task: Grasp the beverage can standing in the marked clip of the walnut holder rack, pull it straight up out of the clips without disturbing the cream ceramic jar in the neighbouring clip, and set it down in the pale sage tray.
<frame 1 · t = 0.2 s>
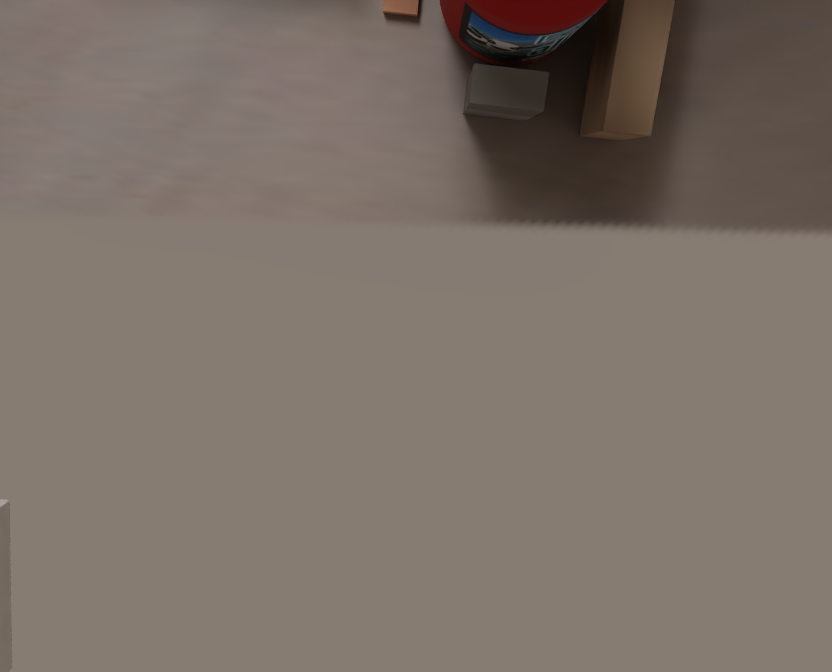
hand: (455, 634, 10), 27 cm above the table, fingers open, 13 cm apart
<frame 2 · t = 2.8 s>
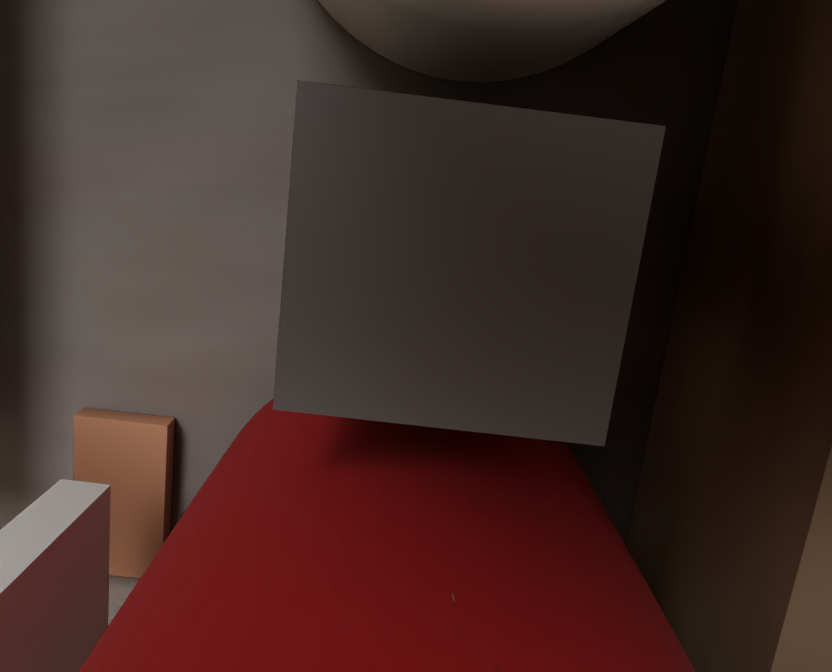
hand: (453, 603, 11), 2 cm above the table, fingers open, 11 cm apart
beverage can: (401, 513, 13), on the table
holder rack: (438, 219, 12), on the table
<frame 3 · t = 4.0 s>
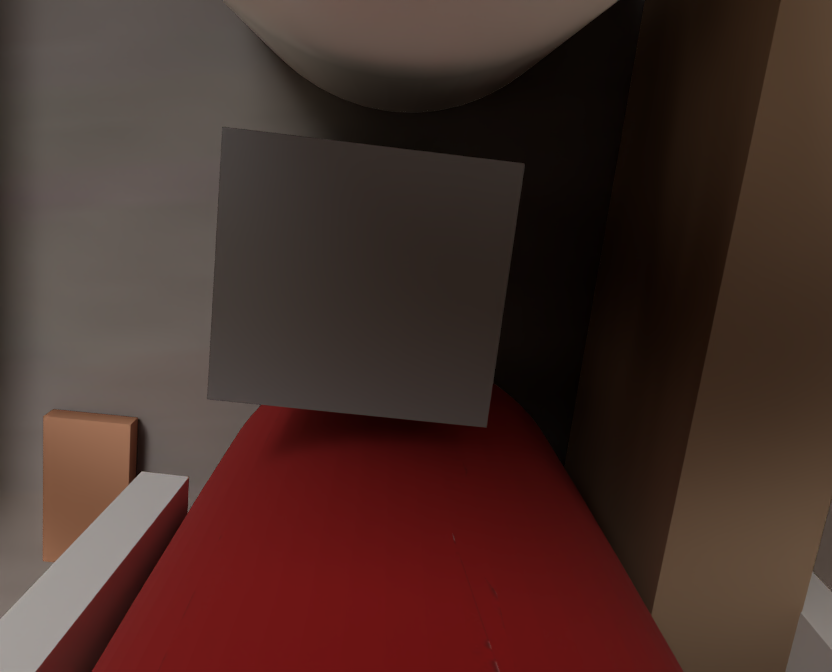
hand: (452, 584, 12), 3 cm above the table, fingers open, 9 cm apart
beverage can: (391, 499, 15), on the table, touching holder rack
holder rack: (376, 235, 13), on the table
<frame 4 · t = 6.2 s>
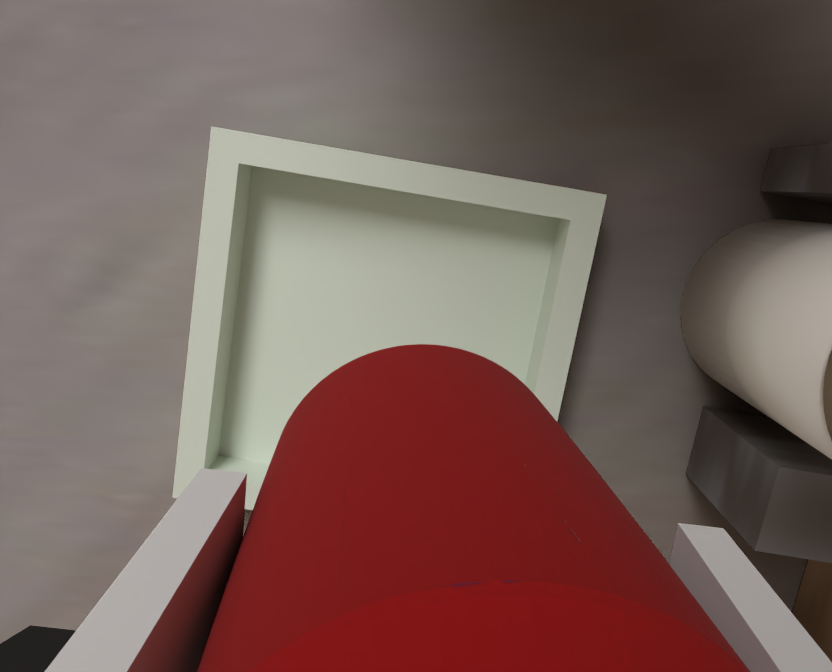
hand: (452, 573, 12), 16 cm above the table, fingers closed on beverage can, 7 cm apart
beverage can: (416, 469, 17), point 10 cm above the table, touching gripper
ceramic jar: (769, 308, 27), on the table
holder rack: (732, 447, 28), on the table
tray: (383, 337, 27), on the table
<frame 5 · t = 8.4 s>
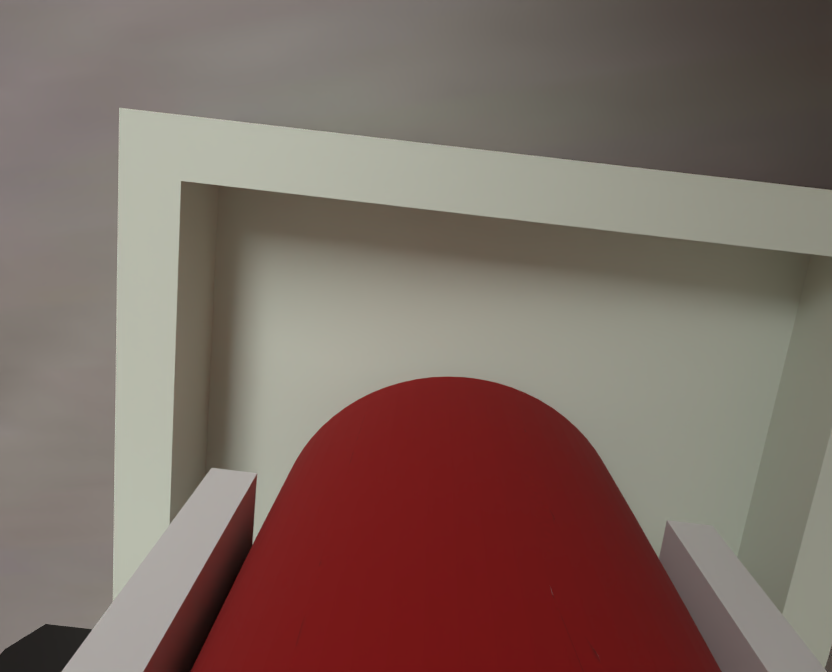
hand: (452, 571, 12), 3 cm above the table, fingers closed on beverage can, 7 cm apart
beverage can: (447, 515, 15), resting on tray, touching gripper
tray: (474, 475, 15), on the table
when the fingers open (3 cm above the table, at t = 8.9 s): beverage can stays where it is, resting on tray.
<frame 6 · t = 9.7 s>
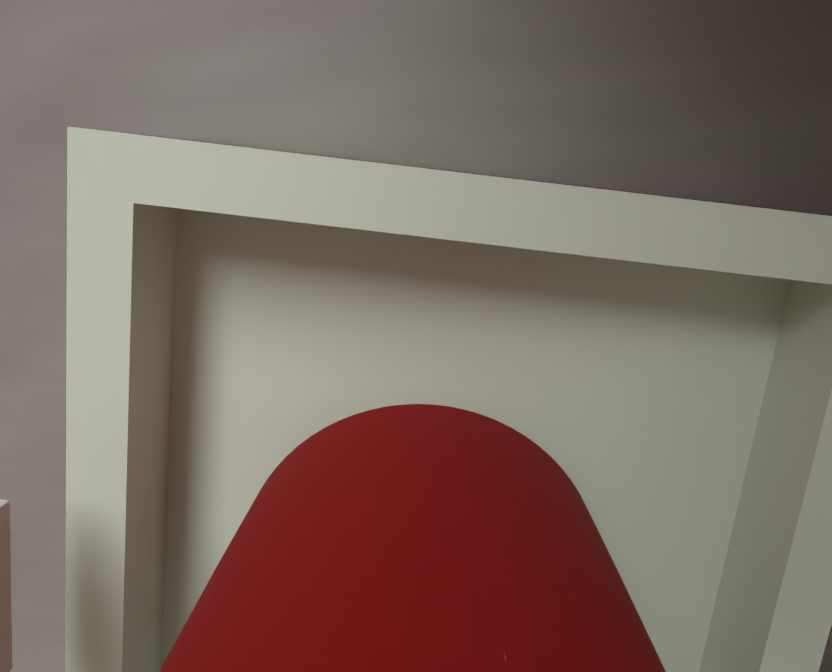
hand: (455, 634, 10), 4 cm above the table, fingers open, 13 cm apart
beverage can: (419, 546, 14), resting on tray
tray: (447, 504, 15), on the table
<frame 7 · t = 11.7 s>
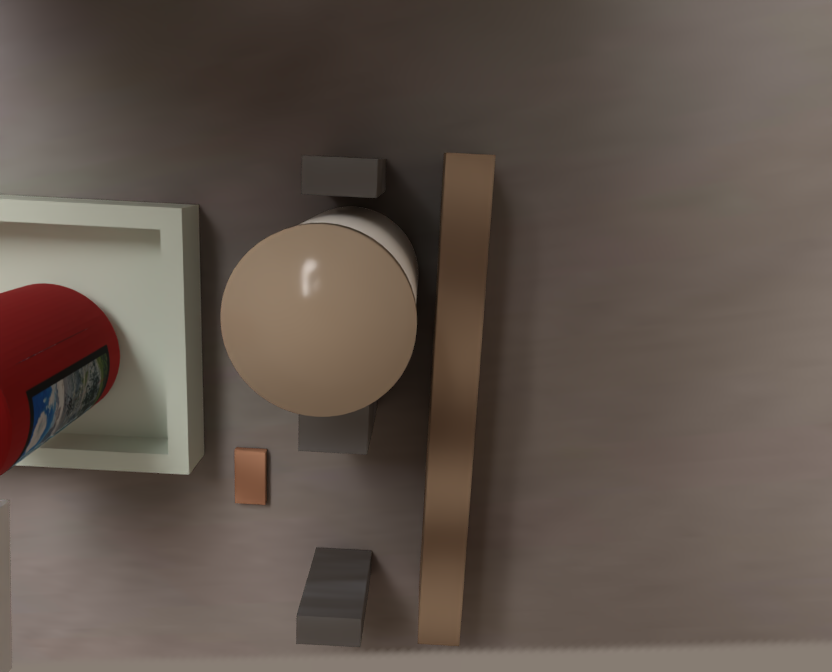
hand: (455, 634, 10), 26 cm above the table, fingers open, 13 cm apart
beverage can: (62, 345, 36), resting on tray
ceramic jar: (351, 274, 36), on the table
holder rack: (348, 380, 37), on the table
tray: (73, 328, 37), on the table
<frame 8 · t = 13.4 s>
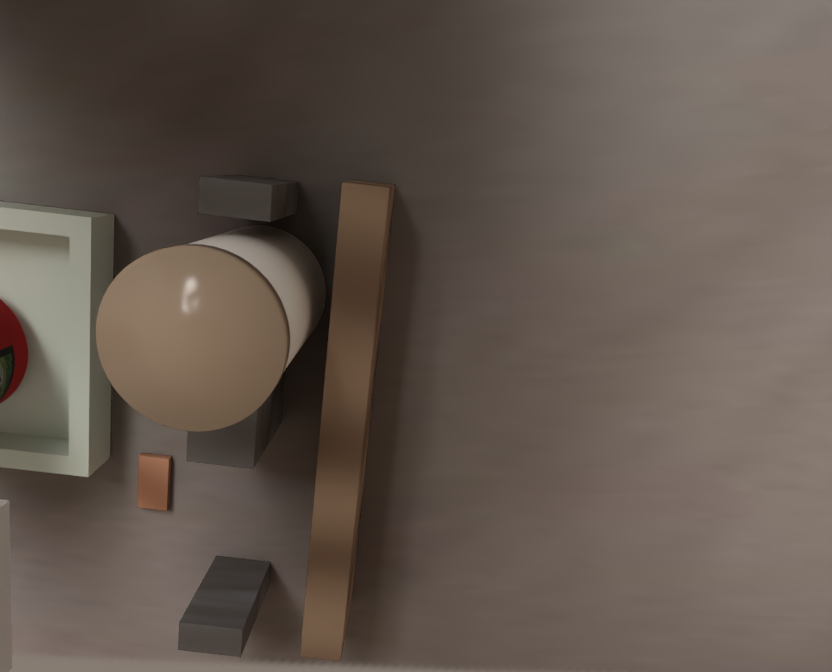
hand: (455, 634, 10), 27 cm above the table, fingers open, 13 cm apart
ceramic jar: (261, 291, 37), on the table
holder rack: (254, 394, 38), on the table
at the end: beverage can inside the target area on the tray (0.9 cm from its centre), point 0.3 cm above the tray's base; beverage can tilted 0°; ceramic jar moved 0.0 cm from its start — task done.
